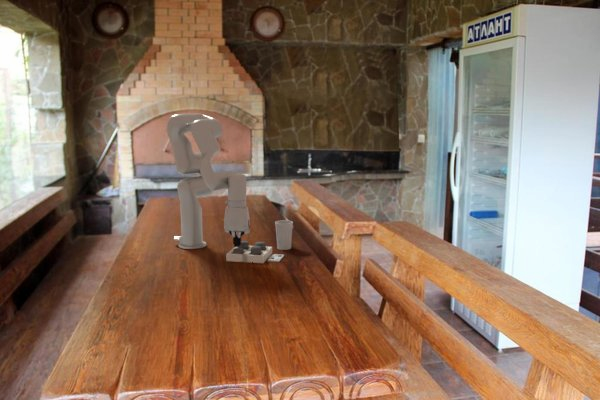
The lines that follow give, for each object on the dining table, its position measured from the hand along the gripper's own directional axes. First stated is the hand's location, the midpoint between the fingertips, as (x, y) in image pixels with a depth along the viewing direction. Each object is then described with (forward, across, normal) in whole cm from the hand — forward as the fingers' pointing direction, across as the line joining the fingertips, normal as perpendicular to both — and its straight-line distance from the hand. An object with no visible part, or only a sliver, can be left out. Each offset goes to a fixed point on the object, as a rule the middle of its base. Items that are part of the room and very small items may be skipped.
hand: (237, 246), depth 241 cm
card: (+5, +16, +3) cm, 17 cm away
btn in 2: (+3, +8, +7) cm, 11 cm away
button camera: (+3, +8, 0) cm, 9 cm away
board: (+5, +5, +3) cm, 8 cm away
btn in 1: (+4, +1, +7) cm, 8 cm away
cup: (+6, +16, +21) cm, 26 cm away
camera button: (+5, +1, 0) cm, 5 cm away
